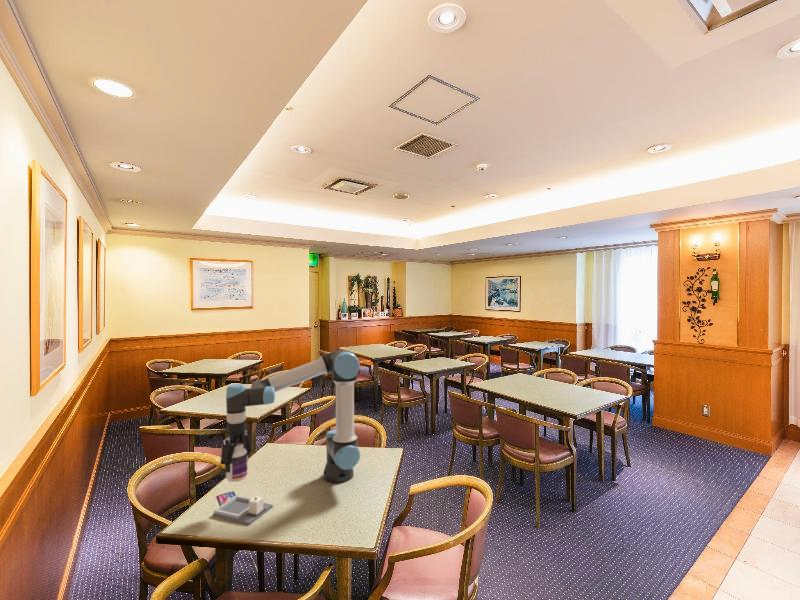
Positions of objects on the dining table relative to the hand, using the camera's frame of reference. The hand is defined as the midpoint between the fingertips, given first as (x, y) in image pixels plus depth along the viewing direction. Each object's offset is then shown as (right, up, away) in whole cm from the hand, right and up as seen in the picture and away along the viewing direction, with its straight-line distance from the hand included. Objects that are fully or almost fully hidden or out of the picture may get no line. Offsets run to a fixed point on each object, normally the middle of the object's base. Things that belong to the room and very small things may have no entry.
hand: (237, 474), depth 164 cm
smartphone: (-8, -16, +8) cm, 20 cm away
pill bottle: (0, -2, 0) cm, 2 cm away
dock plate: (+3, -15, -1) cm, 16 cm away
